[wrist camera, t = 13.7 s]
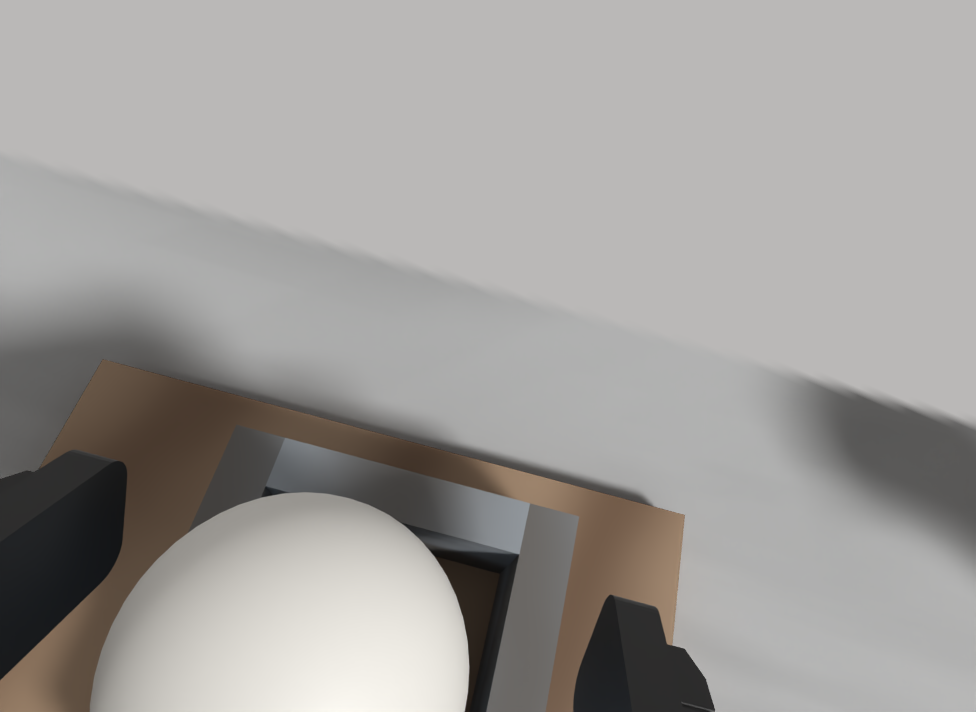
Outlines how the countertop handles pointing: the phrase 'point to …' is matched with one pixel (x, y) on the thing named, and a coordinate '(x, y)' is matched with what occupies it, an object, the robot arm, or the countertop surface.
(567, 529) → the jig board
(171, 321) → the countertop surface
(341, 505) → the white-capped blue cylinder
